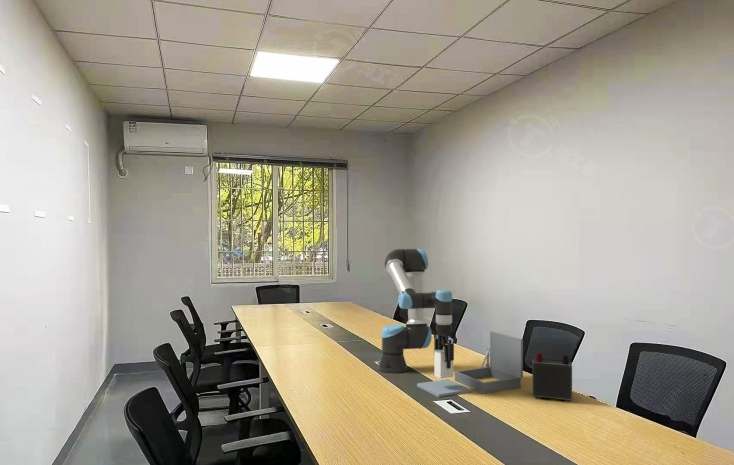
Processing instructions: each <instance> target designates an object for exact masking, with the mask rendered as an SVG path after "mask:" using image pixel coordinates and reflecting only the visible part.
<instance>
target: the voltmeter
mask: <svg viewBox="0 0 734 465" xmlns="http://www.w3.org/2000/svg"><path fill="white" fill-rule="evenodd" d="M561 358H562V360H555V359H543V353H542V352H535V359H532V396H533V397H535V399H536V398H540V399H541V398H550V399H559V400H563V402H565V401H567V403H568V401H569V402H570V401H571V400H573V363H572V362H569V355H568V354H562V356H561Z"/></svg>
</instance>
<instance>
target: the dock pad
mask: <svg viewBox="0 0 734 465" xmlns="http://www.w3.org/2000/svg"><path fill="white" fill-rule="evenodd" d="M416 387H418V388H419V389H421V390H423V391H426V392H428V393H429V394H431V395H433V396H435V397H437V398H442V397H449V396H453V395H454V396H455V395H461V394H466V393H467V394H468V393H472V388H470V387H468V386H466V385H464V384H461V383H459V382H457V381H455V380H454V381H453V380H451V379H448V378H445V379H439V380H433V381H425V382H418V383H416Z"/></svg>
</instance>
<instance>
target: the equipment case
mask: <svg viewBox="0 0 734 465" xmlns="http://www.w3.org/2000/svg"><path fill="white" fill-rule="evenodd" d="M489 338H490V339H489V347H487V348H488V351H487V350H486V354H485V355H484V358H483V361H482V362H481V364H480V367H478V368H477V367H476V368H470V369H464V370H463V369H462V370H457V371H456V370H455V371H454V382H456V383H458V384H460V385H463V386H465V387H467V388H470V389H473V390H476V391H478V392H480V393H482V394H488V393H495V392H499V391H506V390H512V389H518V388H521V387H522V379H521V378H523V377H524V376H523V375H524V374H523V373H524V368H523V367H524V366H523V365H524V359H523V358H524V345H523V344H524V339H523V338H519V337H514V336H511V335H507V334H504V333H499V332H496V331H490V332H489ZM488 354H489V367H486V366H484V365H485V363H486V361H487V356H488ZM487 377H491V378H493V379H496V380H492V381H486V382H484V381H481V380H479V378H487Z"/></svg>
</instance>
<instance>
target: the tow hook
mask: <svg viewBox="0 0 734 465" xmlns="http://www.w3.org/2000/svg"><path fill="white" fill-rule="evenodd" d="M488 348H489V347H487V349H486V352H487V351H488ZM485 363H486V364H485V367H490V353H489V354H488V356H487V358H486V362H485Z"/></svg>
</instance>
